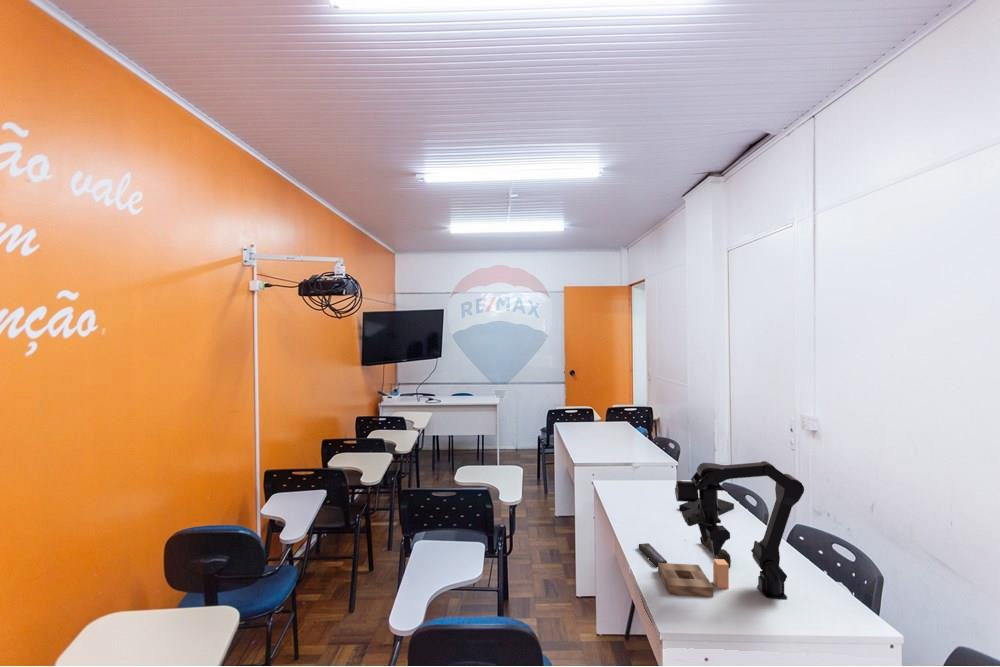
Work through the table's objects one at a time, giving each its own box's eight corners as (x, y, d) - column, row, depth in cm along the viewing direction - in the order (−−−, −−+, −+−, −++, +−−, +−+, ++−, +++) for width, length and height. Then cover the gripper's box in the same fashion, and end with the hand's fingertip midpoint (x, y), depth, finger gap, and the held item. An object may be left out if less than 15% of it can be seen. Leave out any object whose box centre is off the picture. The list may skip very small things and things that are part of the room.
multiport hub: (656, 569, 161) (656, 562, 161) (638, 549, 176) (638, 543, 176) (667, 568, 162) (667, 561, 162) (648, 548, 176) (648, 543, 176)
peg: (724, 582, 152) (724, 559, 152) (728, 588, 148) (728, 564, 148) (713, 582, 152) (713, 558, 152) (717, 588, 149) (717, 564, 149)
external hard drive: (679, 511, 213) (679, 504, 213) (706, 500, 226) (706, 494, 226) (707, 521, 202) (707, 514, 202) (734, 509, 215) (734, 503, 215)
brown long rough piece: (699, 544, 180) (699, 532, 180) (709, 544, 180) (709, 532, 180) (722, 569, 161) (722, 556, 161) (733, 569, 161) (733, 556, 161)
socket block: (698, 573, 158) (698, 564, 158) (713, 596, 144) (713, 587, 144) (658, 571, 159) (658, 562, 159) (669, 594, 145) (669, 585, 145)
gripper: (675, 492, 159) (676, 535, 159) (693, 513, 141) (695, 562, 141) (707, 492, 159) (708, 535, 159) (730, 513, 140) (731, 562, 140)
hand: (710, 548), depth 149 cm, fingers open, 9 cm apart
